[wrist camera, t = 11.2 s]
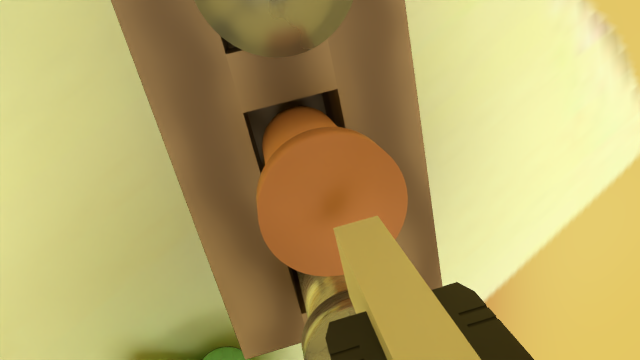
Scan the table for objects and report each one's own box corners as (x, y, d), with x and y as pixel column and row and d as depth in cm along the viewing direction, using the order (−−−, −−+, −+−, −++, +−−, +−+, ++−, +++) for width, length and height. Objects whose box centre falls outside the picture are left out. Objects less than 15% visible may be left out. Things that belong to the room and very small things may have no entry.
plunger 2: (296, 301, 33) (320, 416, 24) (275, 231, 31) (292, 326, 21) (373, 278, 34) (428, 380, 24) (359, 207, 32) (413, 289, 22)
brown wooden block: (244, 296, 39) (245, 359, 32) (117, -65, 28) (74, -97, 21) (406, 248, 41) (444, 298, 33) (347, -114, 30) (383, -160, 22)
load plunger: (265, 201, 28) (279, 293, 19) (238, 109, 26) (238, 159, 16) (356, 176, 29) (416, 253, 19) (338, 83, 27) (395, 118, 17)
